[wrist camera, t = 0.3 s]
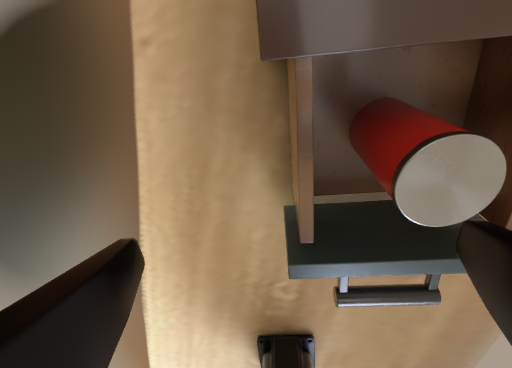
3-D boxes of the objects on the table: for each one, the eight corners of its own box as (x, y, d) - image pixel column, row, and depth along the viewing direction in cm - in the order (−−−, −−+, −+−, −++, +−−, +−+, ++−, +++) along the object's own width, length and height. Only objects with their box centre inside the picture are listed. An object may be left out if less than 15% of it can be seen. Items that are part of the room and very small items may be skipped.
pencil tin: (409, 157, 19) (490, 224, 12) (346, 161, 20) (389, 229, 13) (420, 93, 17) (522, 129, 10) (350, 100, 18) (402, 138, 11)
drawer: (442, 250, 24) (500, 320, 18) (286, 256, 25) (291, 325, 19) (516, -31, 15) (681, -79, 9) (270, -1, 16) (270, -26, 10)
